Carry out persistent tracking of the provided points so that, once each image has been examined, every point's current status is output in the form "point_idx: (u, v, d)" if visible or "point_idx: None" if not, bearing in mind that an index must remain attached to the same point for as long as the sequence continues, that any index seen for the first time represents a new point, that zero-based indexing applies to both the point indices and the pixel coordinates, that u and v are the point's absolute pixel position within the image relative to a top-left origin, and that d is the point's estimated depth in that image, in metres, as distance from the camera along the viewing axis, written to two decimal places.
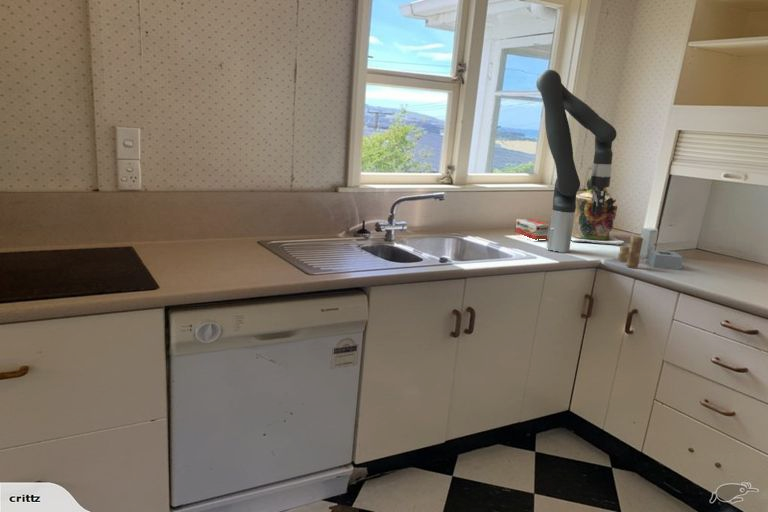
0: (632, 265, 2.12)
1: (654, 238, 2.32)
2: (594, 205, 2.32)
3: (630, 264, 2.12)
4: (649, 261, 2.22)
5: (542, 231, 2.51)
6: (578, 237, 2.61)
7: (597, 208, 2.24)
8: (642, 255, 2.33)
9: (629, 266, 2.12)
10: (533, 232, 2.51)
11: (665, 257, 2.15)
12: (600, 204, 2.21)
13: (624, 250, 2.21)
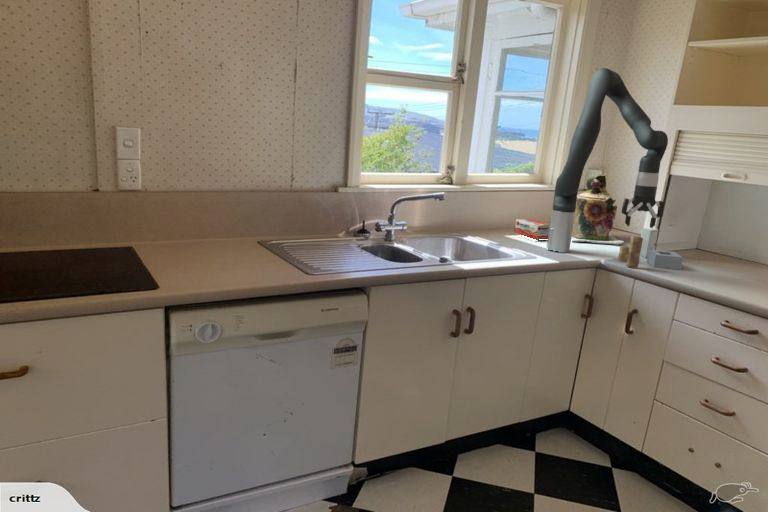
0: (632, 265, 2.12)
1: (654, 238, 2.32)
2: None
3: (630, 264, 2.12)
4: (649, 261, 2.22)
5: (543, 231, 2.52)
6: (578, 237, 2.61)
7: (654, 220, 2.08)
8: (642, 255, 2.33)
9: (629, 266, 2.12)
10: (535, 232, 2.51)
11: (665, 257, 2.15)
12: None
13: (624, 250, 2.21)
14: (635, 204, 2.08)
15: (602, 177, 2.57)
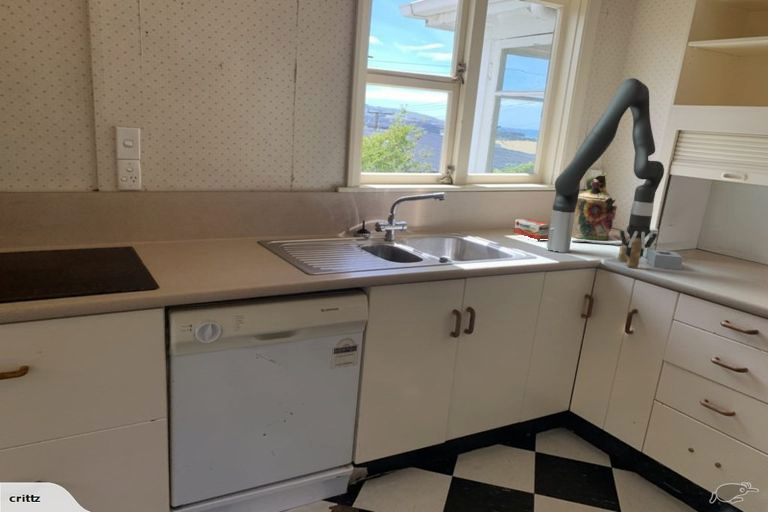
0: (632, 265, 2.12)
1: None
2: None
3: (630, 264, 2.12)
4: (649, 261, 2.22)
5: (544, 230, 2.52)
6: (577, 237, 2.61)
7: (642, 250, 2.11)
8: None
9: (629, 266, 2.12)
10: (536, 232, 2.51)
11: (665, 257, 2.15)
12: (648, 246, 2.11)
13: (624, 250, 2.21)
14: (631, 234, 2.10)
15: (602, 177, 2.57)
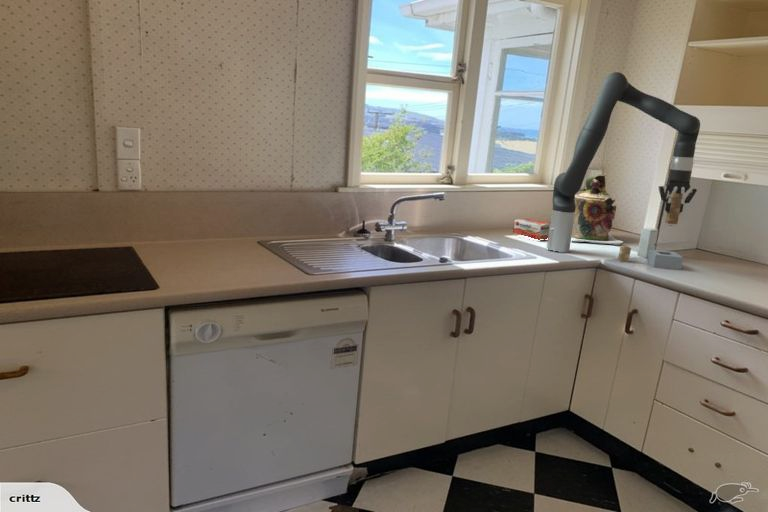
0: (672, 220, 2.14)
1: (654, 238, 2.32)
2: None
3: (670, 220, 2.14)
4: (649, 261, 2.22)
5: (545, 230, 2.53)
6: (577, 237, 2.61)
7: None
8: (642, 255, 2.33)
9: (669, 222, 2.14)
10: (537, 232, 2.51)
11: (665, 257, 2.15)
12: None
13: (624, 250, 2.21)
14: (670, 190, 2.12)
15: (601, 177, 2.57)
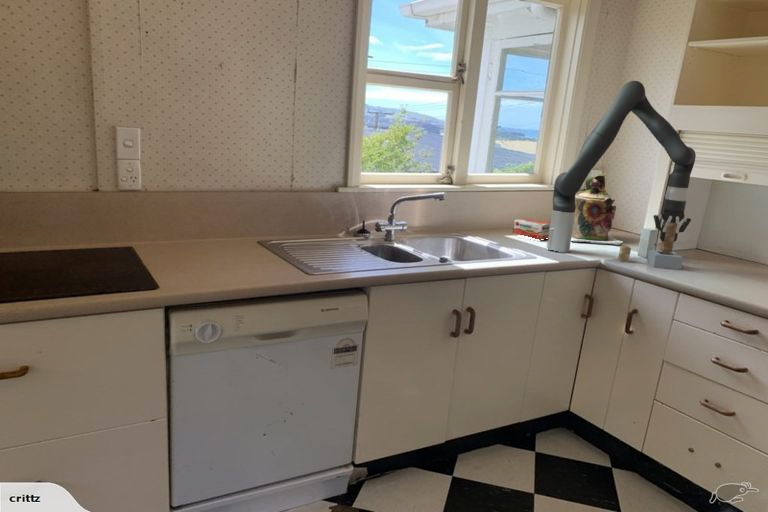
0: (666, 249, 2.17)
1: (654, 238, 2.32)
2: None
3: (664, 248, 2.17)
4: (649, 261, 2.22)
5: (545, 230, 2.53)
6: (577, 237, 2.61)
7: (676, 235, 2.16)
8: (642, 255, 2.33)
9: (663, 250, 2.17)
10: (539, 232, 2.52)
11: (665, 257, 2.15)
12: None
13: (624, 250, 2.21)
14: (665, 219, 2.15)
15: (601, 177, 2.57)
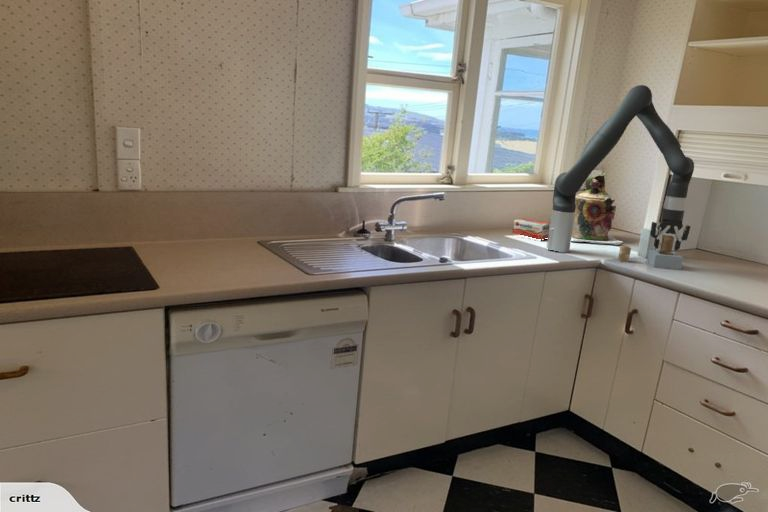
0: None
1: (654, 238, 2.32)
2: None
3: None
4: (649, 261, 2.22)
5: (546, 230, 2.54)
6: (577, 237, 2.61)
7: (679, 243, 2.16)
8: (642, 255, 2.33)
9: None
10: (539, 232, 2.52)
11: (665, 257, 2.15)
12: None
13: (624, 250, 2.21)
14: (663, 227, 2.16)
15: (601, 177, 2.57)
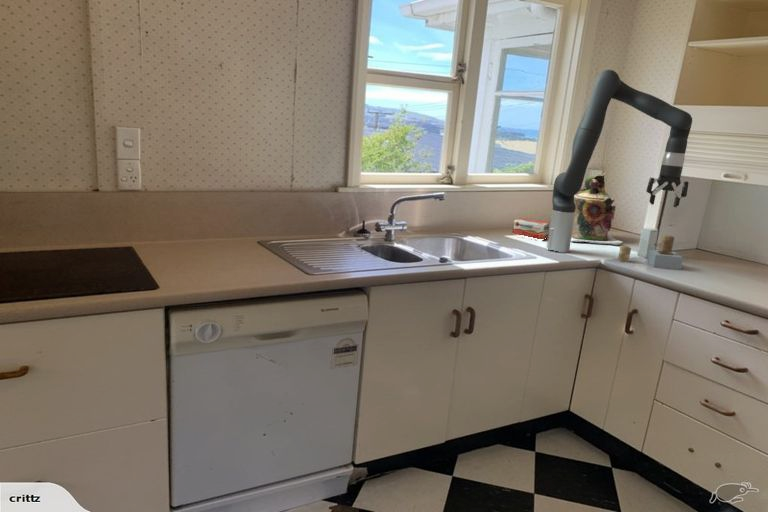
0: None
1: (654, 238, 2.32)
2: None
3: None
4: (649, 261, 2.22)
5: (546, 230, 2.55)
6: (576, 237, 2.60)
7: (678, 200, 2.14)
8: (642, 255, 2.33)
9: None
10: (541, 232, 2.52)
11: (665, 257, 2.15)
12: (685, 195, 2.14)
13: (624, 250, 2.21)
14: (660, 183, 2.14)
15: (601, 177, 2.56)
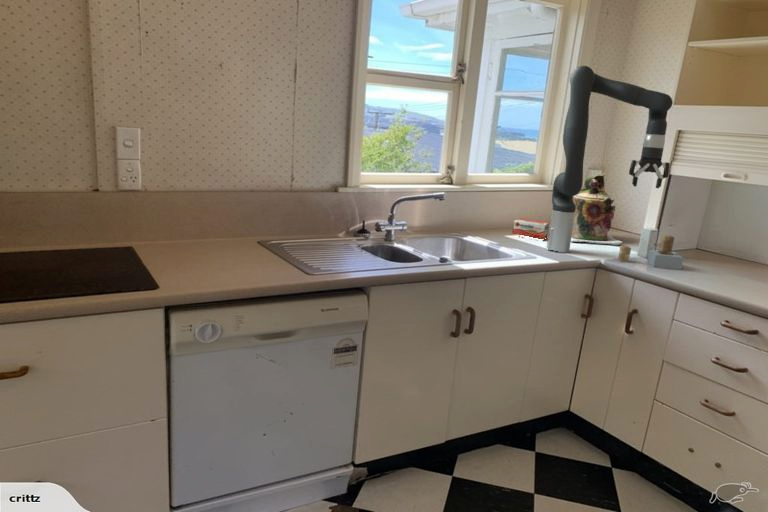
0: None
1: (654, 238, 2.32)
2: None
3: None
4: (649, 261, 2.22)
5: (546, 229, 2.55)
6: (576, 237, 2.60)
7: (660, 181, 2.18)
8: (642, 255, 2.33)
9: None
10: (541, 232, 2.52)
11: (665, 257, 2.15)
12: None
13: (624, 250, 2.21)
14: (642, 165, 2.18)
15: (600, 177, 2.56)
